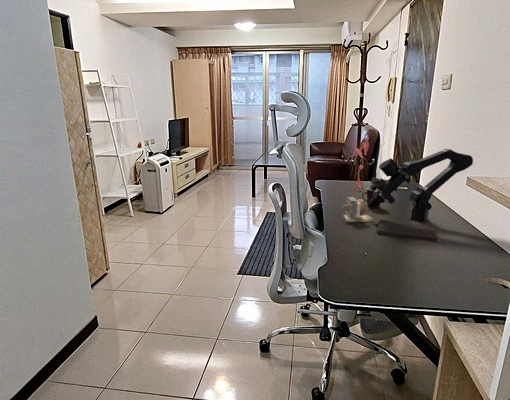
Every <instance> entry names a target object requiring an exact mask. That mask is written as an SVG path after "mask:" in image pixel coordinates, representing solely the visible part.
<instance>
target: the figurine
mask: <svg viewBox="0 0 510 400" xmlns="http://www.w3.org/2000/svg"><path fill="white" fill-rule="evenodd" d="M369 147H370V144H369V136H366V138H365V142H362V144H361V146H360V149H359V148H358V147H355V153H356V154H355V158H357V157H358V156H359V157H361V158H362V162H361V164H360V165H359V166H358V171H357V176H360V171H361V170H363V169H364V165H363V164H364V156H367V152H368V150H369ZM362 150H364V153H362ZM363 155H364V156H363ZM357 186H358V188H359V190H360V191H363V189H362V188H363V183H362V181H361V179H360V178H357V181H356V183H355V185H354V187H352V191H354V189H355V188H356V187H357ZM370 186H371V185H370ZM370 186H369V187H370ZM369 187H368V188H369Z"/></svg>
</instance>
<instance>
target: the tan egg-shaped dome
mask: <svg viewBox="0 0 510 400" xmlns="http://www.w3.org/2000/svg"><path fill="white" fill-rule="evenodd" d="M356 200H357V201H358V202H360V203H361V208H360V216H363V215H365V212H366V211H365V210H366V204H365V200H364V199H363V198H361V199H359V198H358V199H356ZM342 208H343V209H342V210H343V211H346V210H350V205H347V204H343V205H342Z"/></svg>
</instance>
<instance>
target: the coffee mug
mask: <svg viewBox="0 0 510 400" xmlns="http://www.w3.org/2000/svg"><path fill="white" fill-rule="evenodd" d="M365 194H366V199H365V198H364V195H365ZM372 196H373V190H372V189H371V188H370V187H366V191H364V192H363V193H362V194H361V197H362V198H361V199H363V200H364V202H366V206H367V208H370V209H380V207H381V203H380V204H376V205H373V206H370V207H369V206H368V203H369V202H370V200H371V198H372Z"/></svg>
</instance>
